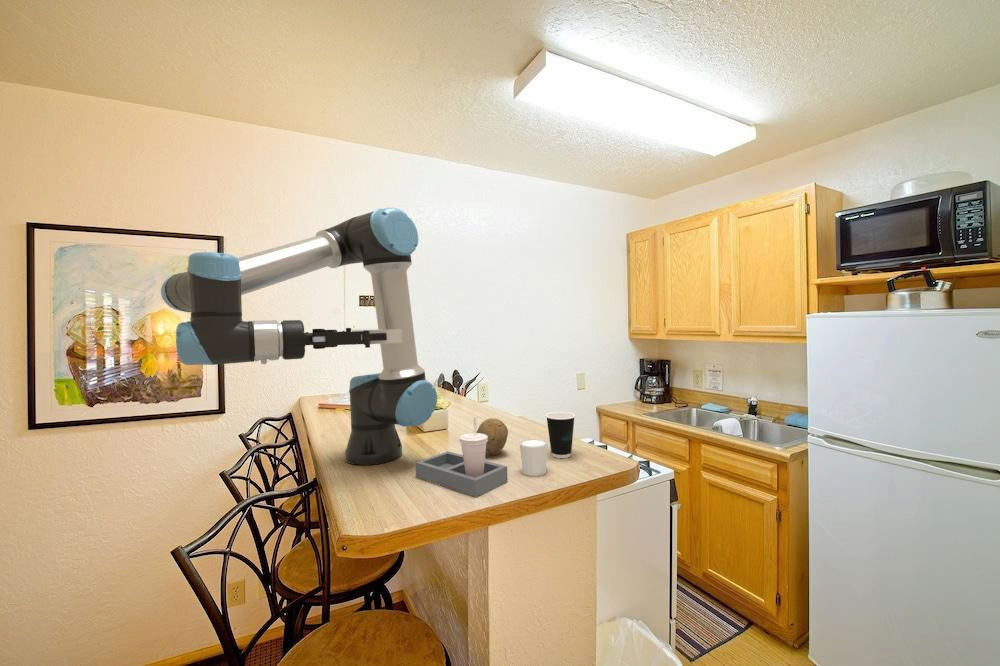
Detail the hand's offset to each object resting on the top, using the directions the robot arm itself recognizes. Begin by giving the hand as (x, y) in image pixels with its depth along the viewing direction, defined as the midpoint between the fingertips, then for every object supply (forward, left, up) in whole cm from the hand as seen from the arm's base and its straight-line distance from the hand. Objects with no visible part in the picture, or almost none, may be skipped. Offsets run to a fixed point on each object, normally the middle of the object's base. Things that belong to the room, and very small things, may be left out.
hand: (391, 335), depth 89 cm
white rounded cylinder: (+18, +27, -34) cm, 47 cm away
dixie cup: (+17, +41, -34) cm, 56 cm away
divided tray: (+7, +13, -34) cm, 37 cm away
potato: (+1, +31, -34) cm, 46 cm away
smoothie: (+12, +13, -33) cm, 37 cm away
